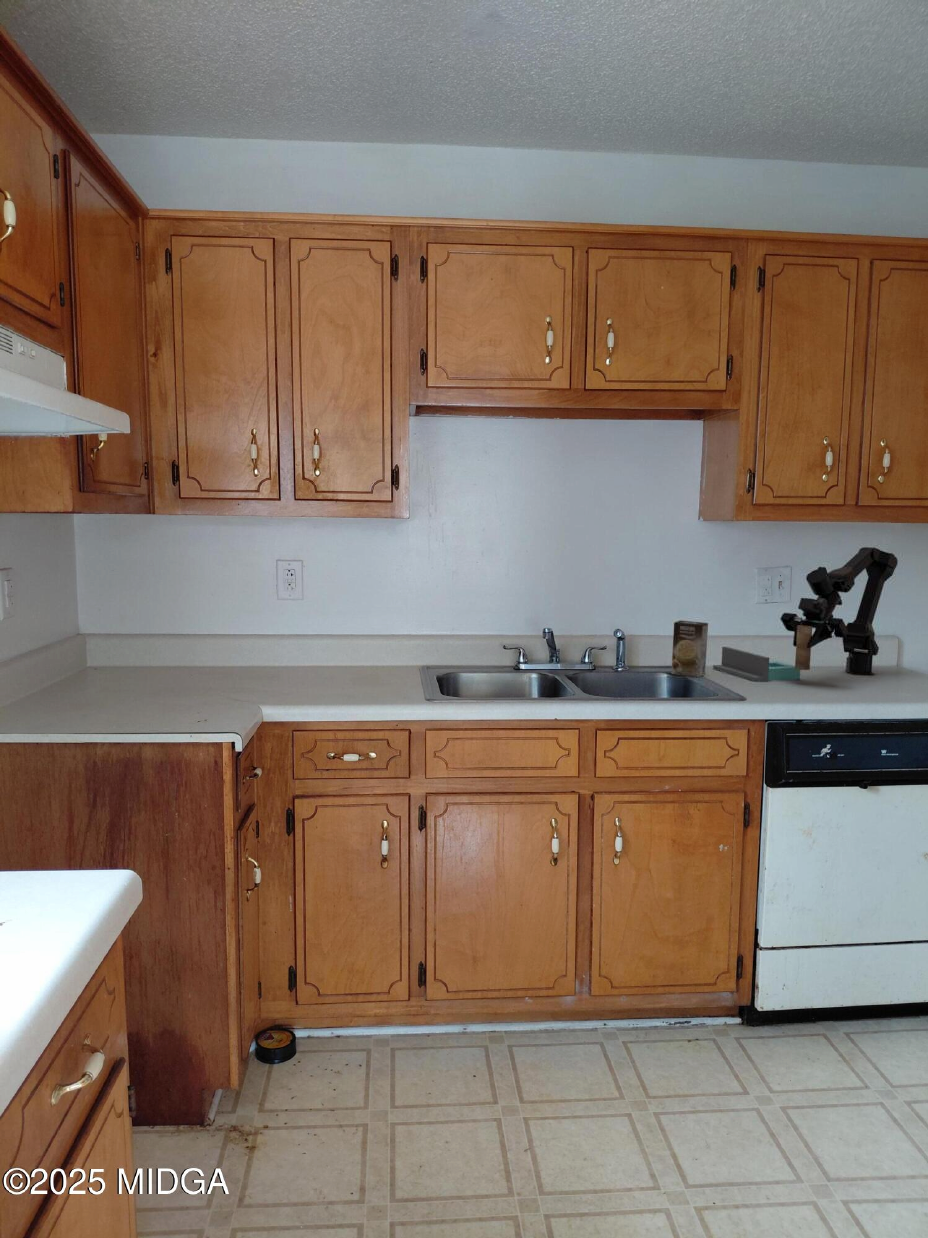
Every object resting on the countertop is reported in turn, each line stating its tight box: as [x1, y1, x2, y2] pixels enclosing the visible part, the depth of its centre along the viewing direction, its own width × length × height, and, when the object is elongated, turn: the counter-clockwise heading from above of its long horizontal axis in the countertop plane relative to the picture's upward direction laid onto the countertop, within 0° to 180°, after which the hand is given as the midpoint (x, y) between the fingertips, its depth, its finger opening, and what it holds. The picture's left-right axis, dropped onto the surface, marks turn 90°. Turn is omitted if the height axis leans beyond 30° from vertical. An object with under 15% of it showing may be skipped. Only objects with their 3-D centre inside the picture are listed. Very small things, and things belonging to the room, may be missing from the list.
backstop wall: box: [712, 646, 770, 683], centre depth 265 cm, size 5×22×7 cm, turn 16°
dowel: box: [794, 625, 813, 671], centre depth 251 cm, size 4×4×12 cm
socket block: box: [767, 660, 801, 682], centre depth 262 cm, size 11×11×4 cm
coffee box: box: [670, 619, 709, 678], centre depth 264 cm, size 9×6×16 cm
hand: (800, 646), depth 250 cm, fingers closed on dowel, 4 cm apart
